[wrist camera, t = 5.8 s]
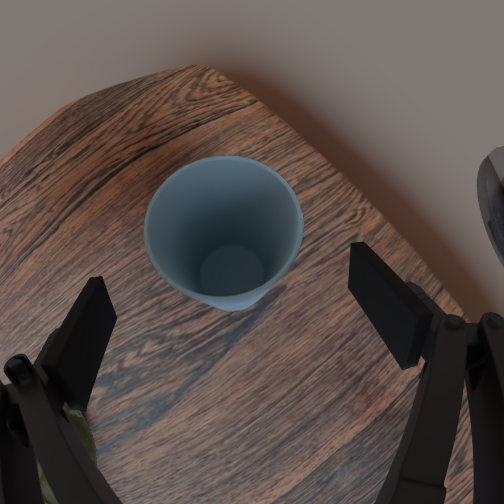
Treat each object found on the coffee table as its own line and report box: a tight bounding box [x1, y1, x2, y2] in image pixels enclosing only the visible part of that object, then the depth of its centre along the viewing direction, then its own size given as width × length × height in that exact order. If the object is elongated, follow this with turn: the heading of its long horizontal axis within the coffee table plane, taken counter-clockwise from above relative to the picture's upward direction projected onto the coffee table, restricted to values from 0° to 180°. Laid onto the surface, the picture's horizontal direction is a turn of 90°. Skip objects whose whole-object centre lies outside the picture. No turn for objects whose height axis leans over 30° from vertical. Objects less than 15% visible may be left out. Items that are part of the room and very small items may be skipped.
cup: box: [144, 155, 303, 312], centre depth 19 cm, size 8×8×10 cm
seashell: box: [35, 402, 97, 504], centre depth 17 cm, size 10×7×10 cm
